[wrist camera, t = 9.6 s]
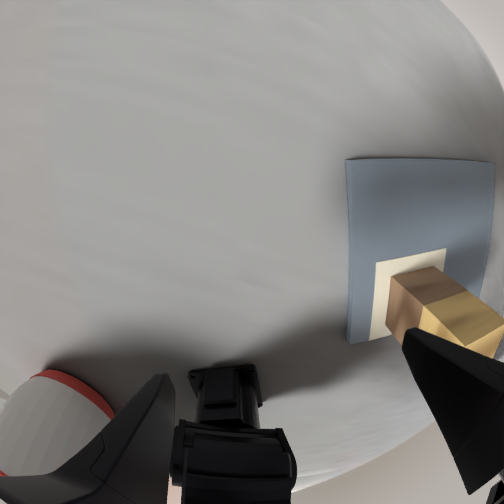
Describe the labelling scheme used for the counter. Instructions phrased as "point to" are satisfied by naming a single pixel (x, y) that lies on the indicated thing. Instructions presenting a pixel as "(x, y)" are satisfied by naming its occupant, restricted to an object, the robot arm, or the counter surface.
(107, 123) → the counter surface
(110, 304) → the counter surface
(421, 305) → the walnut block
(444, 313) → the ochre block
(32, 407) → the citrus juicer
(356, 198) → the board
